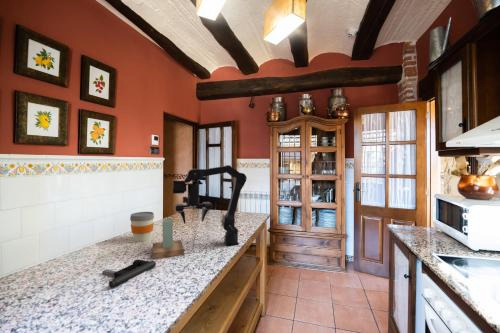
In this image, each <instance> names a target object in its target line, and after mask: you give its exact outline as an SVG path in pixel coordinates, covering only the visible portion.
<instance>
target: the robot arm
mask: <svg viewBox="0 0 500 333" xmlns="http://www.w3.org/2000/svg"><path fill="white" fill-rule="evenodd" d="M220 174H228V175H229V176H230V177H232V178H233V181H232V183H233V184H232V186H233V188H232V192H231V195H230V200H229V203H228V208H227V211H226V213H225V214H222V217H221V220H220V222H221V226H222V228H223V230H225V233H224V236H223V237H224V240H223V243H224V244H225V245H226V246H227V247H231V246H235V245H237V246H238V245H240V243H239V238H238V236H239V229H238V228H237V227H236V226H235V220H236V219H235V218H236V217H235V214H236V211H237V206H238V202H239V199H240V195H241V192H242V189H243V188H244V186H245V184H246V182H247V179H248V178H247V175H246V174H245V173H243V172H240V171H238V170H237V169H235V168H234V167H232V165H230V164H228V165H227V164H226V165H222V166H218V167H217V166H215V167H209V168H191V169H189V170H188V171H187V175H186V177H185V178H184V180H178V179H177V180H176V179H175V180H173V181H172V182H173V183H172V195H177V194H180V195H181V194H185V193H186V192H187V196H182V203H175V204H174V206H173V209H174V211H175V212H177V213H178V214H180V216H181V219H182V222H183V224H184V225H185V224H186V214H185V210H186V209H198V208H201V222H202V223H203V222H204V220H205V218H206V215H207V213H208V211H211V209H213V203H212V202H211V201H202V203H200V185H203V182H202V181H201V179H203V178H206V177H208V176H209V177H211V176H214V175H220Z"/></svg>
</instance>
